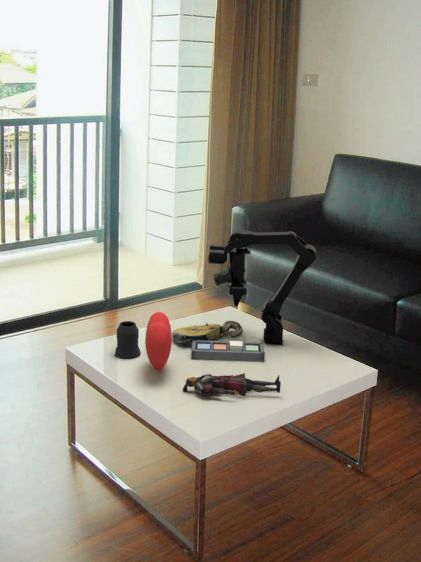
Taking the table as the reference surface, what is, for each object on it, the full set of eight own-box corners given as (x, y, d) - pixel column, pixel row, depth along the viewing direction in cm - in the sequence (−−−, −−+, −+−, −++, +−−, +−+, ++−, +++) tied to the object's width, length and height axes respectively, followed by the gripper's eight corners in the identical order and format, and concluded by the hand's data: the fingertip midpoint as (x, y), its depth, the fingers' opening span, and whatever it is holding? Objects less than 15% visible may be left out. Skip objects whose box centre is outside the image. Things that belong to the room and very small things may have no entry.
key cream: (241, 347, 261) (242, 341, 260) (242, 352, 256) (242, 345, 256) (229, 347, 261) (229, 340, 260) (229, 351, 256) (229, 345, 256)
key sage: (257, 352, 261) (258, 345, 260) (258, 356, 257) (258, 350, 256) (245, 351, 261) (245, 345, 260) (245, 356, 257) (245, 350, 256)
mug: (141, 358, 253) (142, 328, 250) (115, 359, 252) (114, 328, 249) (139, 345, 265) (139, 316, 261) (113, 346, 263) (113, 316, 260)
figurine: (281, 387, 223) (182, 383, 222) (280, 404, 224) (181, 400, 224) (278, 370, 235) (183, 366, 234) (276, 386, 237) (183, 382, 236)
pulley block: (251, 322, 273) (176, 333, 260) (252, 338, 274) (177, 349, 261) (233, 316, 285) (161, 326, 272) (234, 331, 286) (162, 342, 273)
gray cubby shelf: (262, 350, 264) (262, 342, 263) (264, 361, 254) (264, 353, 253) (192, 348, 264) (192, 340, 263) (191, 359, 254) (191, 351, 253)
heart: (146, 359, 253) (146, 307, 248) (171, 359, 254) (172, 307, 248) (143, 383, 234) (144, 328, 229) (171, 384, 235) (172, 328, 229)
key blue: (210, 350, 261) (210, 344, 260) (209, 355, 257) (210, 348, 256) (197, 350, 261) (197, 343, 260) (197, 354, 257) (197, 348, 256)
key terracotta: (225, 350, 261) (226, 344, 260) (226, 355, 257) (226, 349, 256) (213, 350, 261) (213, 344, 260) (213, 355, 257) (213, 348, 256)
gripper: (214, 257, 274) (213, 297, 279) (215, 271, 256) (214, 314, 261) (244, 258, 274) (242, 298, 279) (247, 272, 257) (245, 314, 261)
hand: (235, 306), depth 270 cm, fingers closed
